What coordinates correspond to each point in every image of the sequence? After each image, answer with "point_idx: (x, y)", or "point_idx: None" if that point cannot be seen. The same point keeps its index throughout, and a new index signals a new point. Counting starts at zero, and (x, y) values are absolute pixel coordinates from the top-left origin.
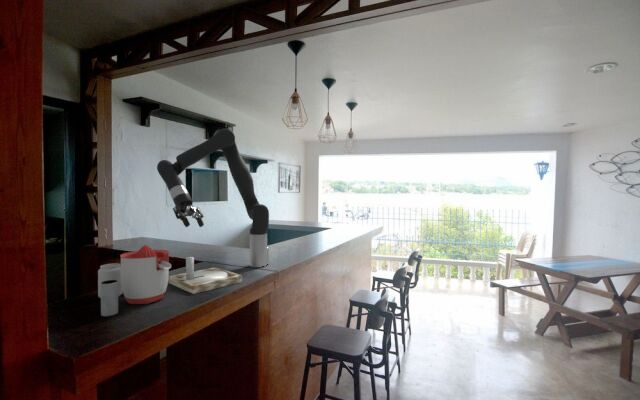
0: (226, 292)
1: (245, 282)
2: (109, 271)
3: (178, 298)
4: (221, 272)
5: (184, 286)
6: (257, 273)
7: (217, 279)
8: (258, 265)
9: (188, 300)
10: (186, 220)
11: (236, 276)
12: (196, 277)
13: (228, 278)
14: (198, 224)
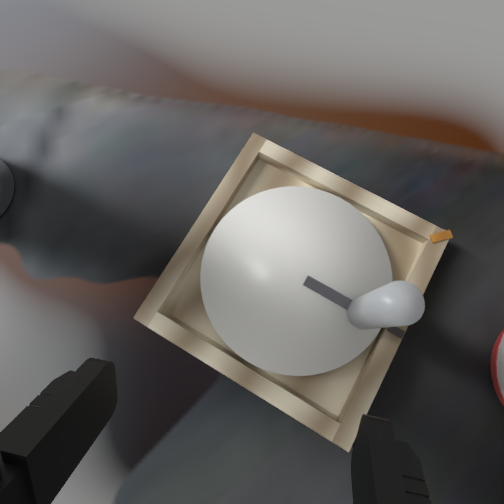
0: (382, 143)
1: None
2: None
3: (492, 264)
4: (227, 235)
5: None
6: (118, 143)
7: (335, 196)
8: (7, 172)
9: (496, 218)
10: (404, 499)
11: (276, 144)
12: (340, 294)
13: (309, 162)
14: (90, 446)
